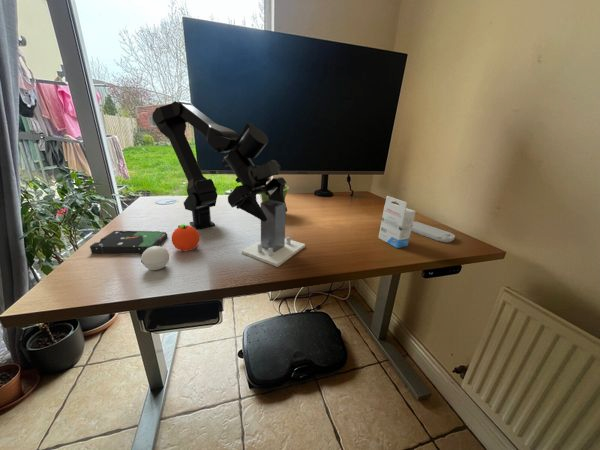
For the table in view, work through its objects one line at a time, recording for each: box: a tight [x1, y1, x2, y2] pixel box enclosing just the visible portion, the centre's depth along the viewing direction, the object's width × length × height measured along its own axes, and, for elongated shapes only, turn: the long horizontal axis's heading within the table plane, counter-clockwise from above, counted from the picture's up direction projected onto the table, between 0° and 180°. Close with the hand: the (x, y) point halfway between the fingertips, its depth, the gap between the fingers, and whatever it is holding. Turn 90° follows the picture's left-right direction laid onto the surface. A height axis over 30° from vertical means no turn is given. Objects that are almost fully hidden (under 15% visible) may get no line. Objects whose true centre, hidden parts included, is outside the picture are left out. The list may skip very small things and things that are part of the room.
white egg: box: [140, 245, 170, 271], centre depth 55 cm, size 8×6×6 cm
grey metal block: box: [260, 200, 287, 252], centre depth 66 cm, size 5×4×13 cm
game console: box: [411, 220, 456, 243], centre depth 87 cm, size 18×2×8 cm
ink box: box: [378, 195, 416, 249], centre depth 76 cm, size 8×5×15 cm, turn 26°
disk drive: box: [89, 230, 169, 255], centre depth 66 cm, size 10×3×15 cm
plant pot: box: [259, 183, 290, 203], centre depth 95 cm, size 12×12×11 cm
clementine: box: [171, 224, 201, 252], centre depth 65 cm, size 8×7×7 cm
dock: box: [241, 236, 306, 268], centre depth 68 cm, size 12×14×3 cm
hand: (276, 216), depth 65 cm, fingers open, 9 cm apart
